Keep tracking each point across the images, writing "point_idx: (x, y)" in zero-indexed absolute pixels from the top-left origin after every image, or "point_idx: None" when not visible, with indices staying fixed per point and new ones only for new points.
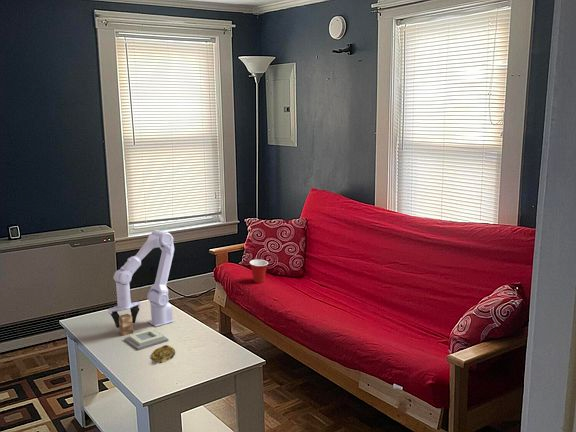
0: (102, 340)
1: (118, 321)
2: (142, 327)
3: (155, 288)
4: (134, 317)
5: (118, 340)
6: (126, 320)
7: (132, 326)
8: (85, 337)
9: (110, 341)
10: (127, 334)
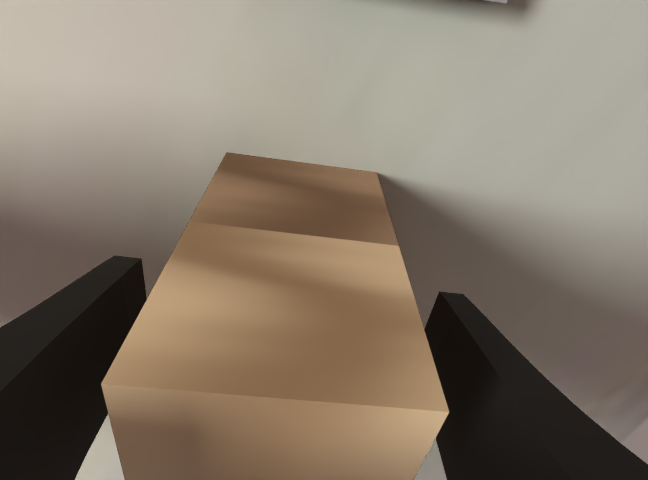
0: (633, 243)
1: (516, 389)
2: (36, 221)
3: None
4: (46, 341)
5: (550, 73)
6: (318, 331)
7: (205, 203)
8: (621, 401)
9: (629, 137)
10: (319, 165)
